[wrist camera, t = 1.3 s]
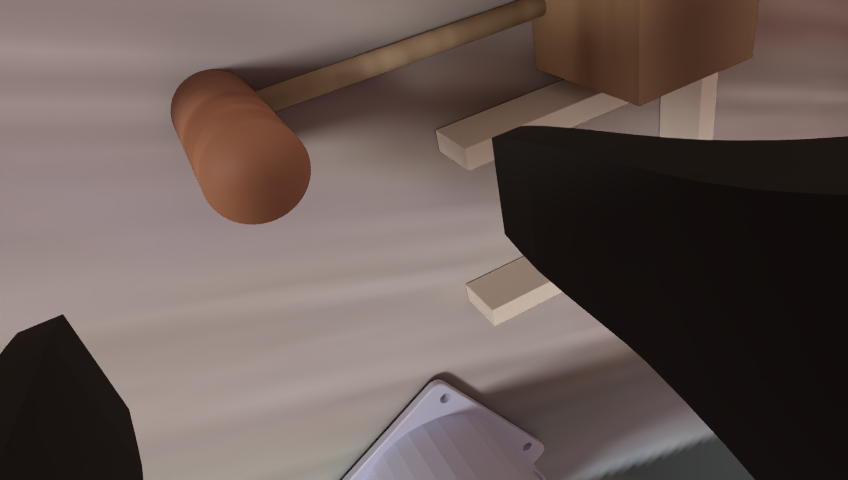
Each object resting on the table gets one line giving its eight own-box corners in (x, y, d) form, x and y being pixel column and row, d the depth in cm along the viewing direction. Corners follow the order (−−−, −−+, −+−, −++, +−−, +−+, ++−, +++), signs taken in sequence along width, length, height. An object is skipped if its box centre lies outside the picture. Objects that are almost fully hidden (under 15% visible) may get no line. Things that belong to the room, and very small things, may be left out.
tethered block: (636, -106, 20) (770, -107, 16) (636, 30, 23) (752, 57, 19) (138, 47, 16) (158, 95, 12) (205, 195, 18) (241, 277, 14)
